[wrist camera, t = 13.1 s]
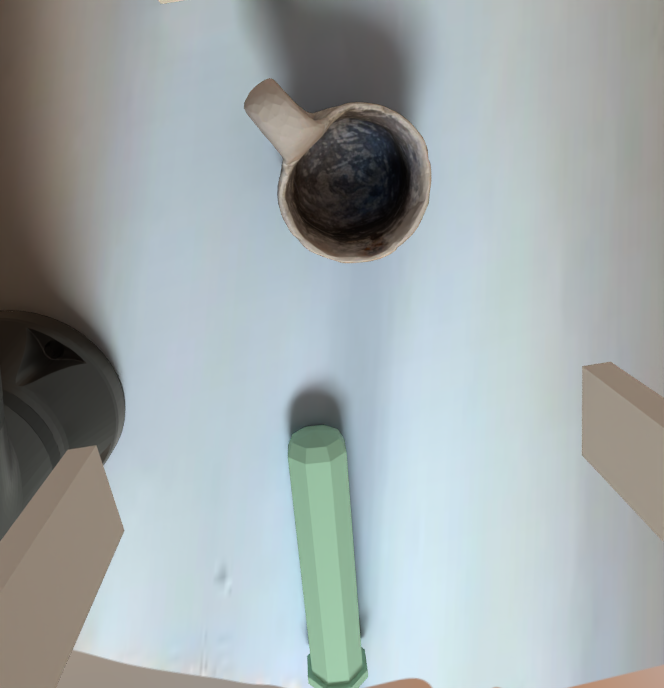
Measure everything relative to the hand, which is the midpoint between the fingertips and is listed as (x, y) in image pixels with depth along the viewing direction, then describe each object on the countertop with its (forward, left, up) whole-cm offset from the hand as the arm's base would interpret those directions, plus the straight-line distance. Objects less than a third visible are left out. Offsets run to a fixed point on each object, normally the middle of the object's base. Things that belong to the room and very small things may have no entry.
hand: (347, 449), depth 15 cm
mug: (+2, +6, -29) cm, 30 cm away
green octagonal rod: (-3, -26, -29) cm, 39 cm away
